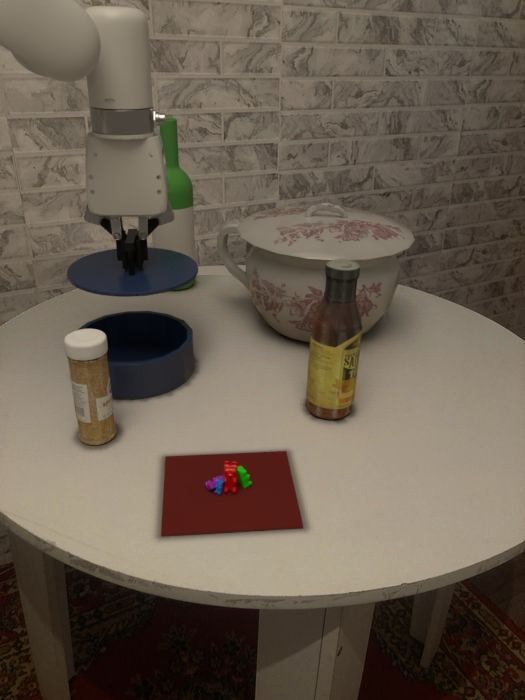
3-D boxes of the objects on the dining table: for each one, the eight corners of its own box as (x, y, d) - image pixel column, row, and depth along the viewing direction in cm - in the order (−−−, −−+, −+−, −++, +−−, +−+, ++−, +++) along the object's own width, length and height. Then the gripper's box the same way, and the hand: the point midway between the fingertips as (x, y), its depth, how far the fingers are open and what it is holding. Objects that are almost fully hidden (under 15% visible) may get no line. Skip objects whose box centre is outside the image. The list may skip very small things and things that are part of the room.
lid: (56, 302, 74) (50, 258, 71) (78, 254, 89) (74, 216, 86) (199, 300, 76) (198, 257, 73) (197, 253, 91) (196, 216, 88)
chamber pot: (435, 337, 98) (458, 212, 88) (303, 383, 84) (313, 241, 74) (325, 282, 118) (334, 175, 108) (204, 312, 104) (201, 193, 94)
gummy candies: (203, 495, 63) (202, 469, 61) (206, 478, 65) (206, 452, 63) (251, 497, 63) (251, 471, 61) (252, 480, 65) (253, 455, 63)
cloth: (161, 536, 58) (161, 534, 58) (165, 458, 68) (165, 456, 68) (303, 528, 59) (303, 525, 59) (286, 452, 70) (286, 450, 70)
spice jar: (120, 441, 71) (110, 341, 65) (81, 450, 69) (67, 348, 63) (112, 420, 75) (101, 324, 68) (75, 428, 73) (60, 330, 66)
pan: (66, 401, 78) (61, 366, 76) (86, 342, 93) (82, 312, 90) (193, 397, 80) (192, 362, 77) (193, 340, 94) (192, 309, 92)
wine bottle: (156, 293, 111) (145, 121, 96) (154, 277, 117) (144, 115, 103) (197, 290, 112) (193, 121, 98) (193, 275, 119) (188, 115, 104)
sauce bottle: (347, 426, 75) (364, 278, 65) (299, 416, 77) (309, 270, 67) (357, 399, 80) (374, 259, 71) (312, 390, 82) (323, 253, 73)
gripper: (186, 119, 77) (190, 255, 86) (62, 117, 75) (79, 256, 84) (186, 128, 70) (190, 274, 79) (51, 126, 69) (70, 275, 77)
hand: (133, 264), depth 81 cm, fingers closed on lid, 1 cm apart
